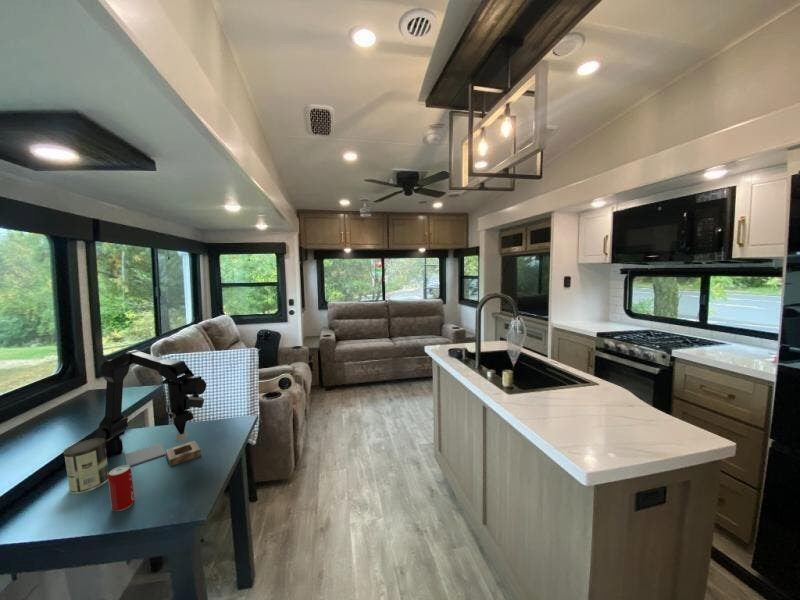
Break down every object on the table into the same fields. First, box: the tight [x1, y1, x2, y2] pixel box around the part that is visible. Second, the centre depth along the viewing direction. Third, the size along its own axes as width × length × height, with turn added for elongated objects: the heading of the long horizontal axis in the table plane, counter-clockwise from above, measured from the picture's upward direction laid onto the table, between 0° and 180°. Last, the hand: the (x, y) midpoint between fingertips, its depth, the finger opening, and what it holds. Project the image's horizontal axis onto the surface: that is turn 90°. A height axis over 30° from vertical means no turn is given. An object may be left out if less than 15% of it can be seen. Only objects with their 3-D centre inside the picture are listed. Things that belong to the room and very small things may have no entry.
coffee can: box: [62, 438, 110, 495], centre depth 112 cm, size 10×10×14 cm
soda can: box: [107, 464, 136, 512], centre depth 101 cm, size 6×6×12 cm
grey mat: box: [124, 442, 166, 468], centre depth 130 cm, size 12×12×1 cm
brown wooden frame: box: [165, 440, 202, 467], centre depth 129 cm, size 10×10×2 cm
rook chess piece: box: [174, 429, 190, 444], centre depth 128 cm, size 4×4×8 cm
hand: (181, 432), depth 128 cm, fingers closed on rook chess piece, 3 cm apart
